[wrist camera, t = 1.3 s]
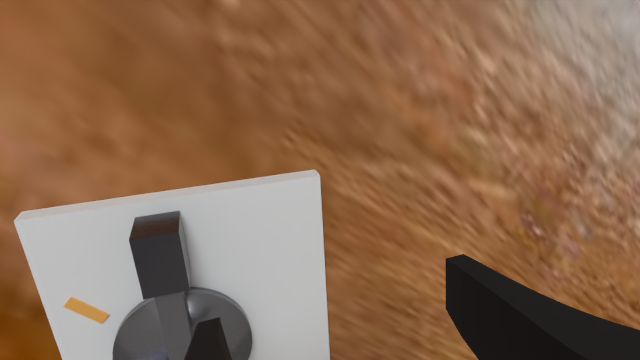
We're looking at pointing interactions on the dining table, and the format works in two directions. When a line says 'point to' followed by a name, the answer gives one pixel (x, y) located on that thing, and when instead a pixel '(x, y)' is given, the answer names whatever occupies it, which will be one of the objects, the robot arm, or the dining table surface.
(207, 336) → the robot arm
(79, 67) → the dining table surface
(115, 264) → the stand plate
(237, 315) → the crank handle
